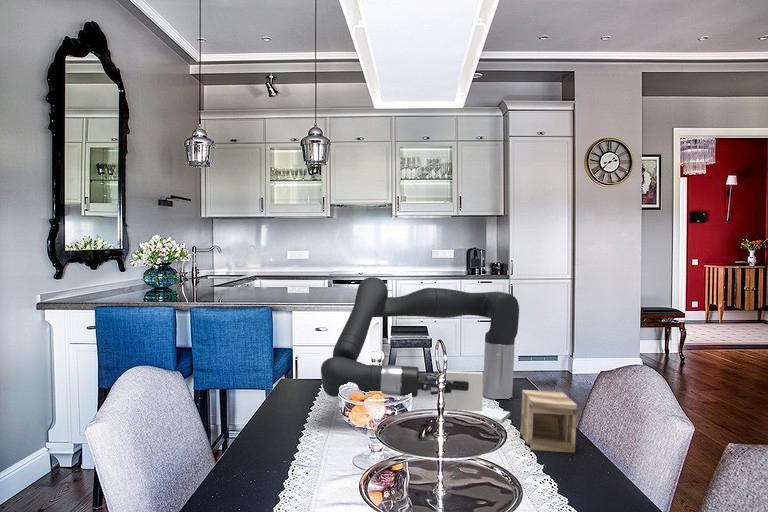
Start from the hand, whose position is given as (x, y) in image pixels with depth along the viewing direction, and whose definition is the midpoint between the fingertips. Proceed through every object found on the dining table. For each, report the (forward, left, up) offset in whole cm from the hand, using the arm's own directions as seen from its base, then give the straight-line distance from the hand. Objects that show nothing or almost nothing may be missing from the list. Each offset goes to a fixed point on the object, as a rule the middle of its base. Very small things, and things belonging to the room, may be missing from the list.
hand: (467, 385), depth 128 cm
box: (+4, +19, -12) cm, 23 cm away
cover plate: (0, -2, -6) cm, 6 cm away
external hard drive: (-15, +7, -12) cm, 20 cm away
